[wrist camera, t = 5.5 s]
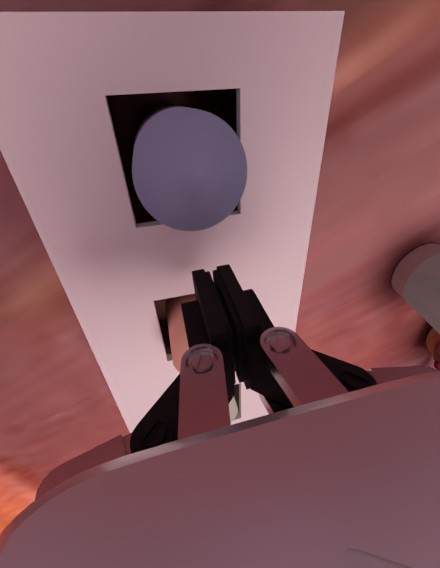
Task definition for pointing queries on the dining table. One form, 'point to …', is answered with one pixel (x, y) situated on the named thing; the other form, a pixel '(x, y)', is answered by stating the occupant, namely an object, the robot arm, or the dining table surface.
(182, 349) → the orange rounded piece
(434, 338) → the mug
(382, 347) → the dining table surface
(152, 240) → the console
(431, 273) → the coffee cup
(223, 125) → the slate button
